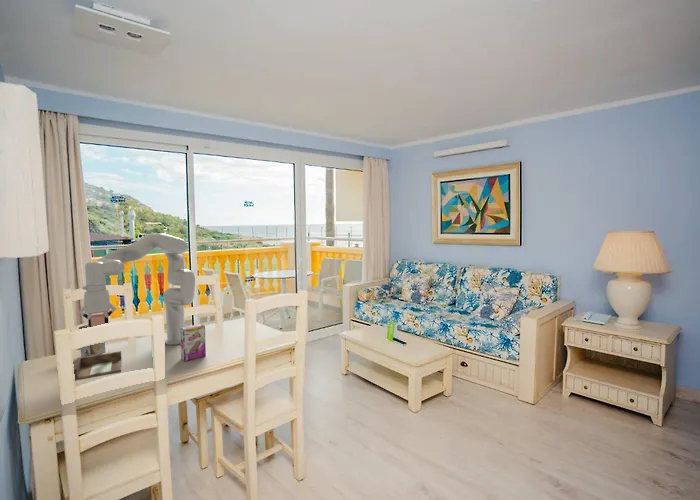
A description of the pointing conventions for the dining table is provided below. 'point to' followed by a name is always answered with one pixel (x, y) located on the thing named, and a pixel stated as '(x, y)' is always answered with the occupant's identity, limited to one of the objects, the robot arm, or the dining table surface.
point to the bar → (97, 319)
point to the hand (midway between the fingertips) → (98, 325)
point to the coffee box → (92, 347)
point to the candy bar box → (192, 342)
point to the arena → (97, 365)
